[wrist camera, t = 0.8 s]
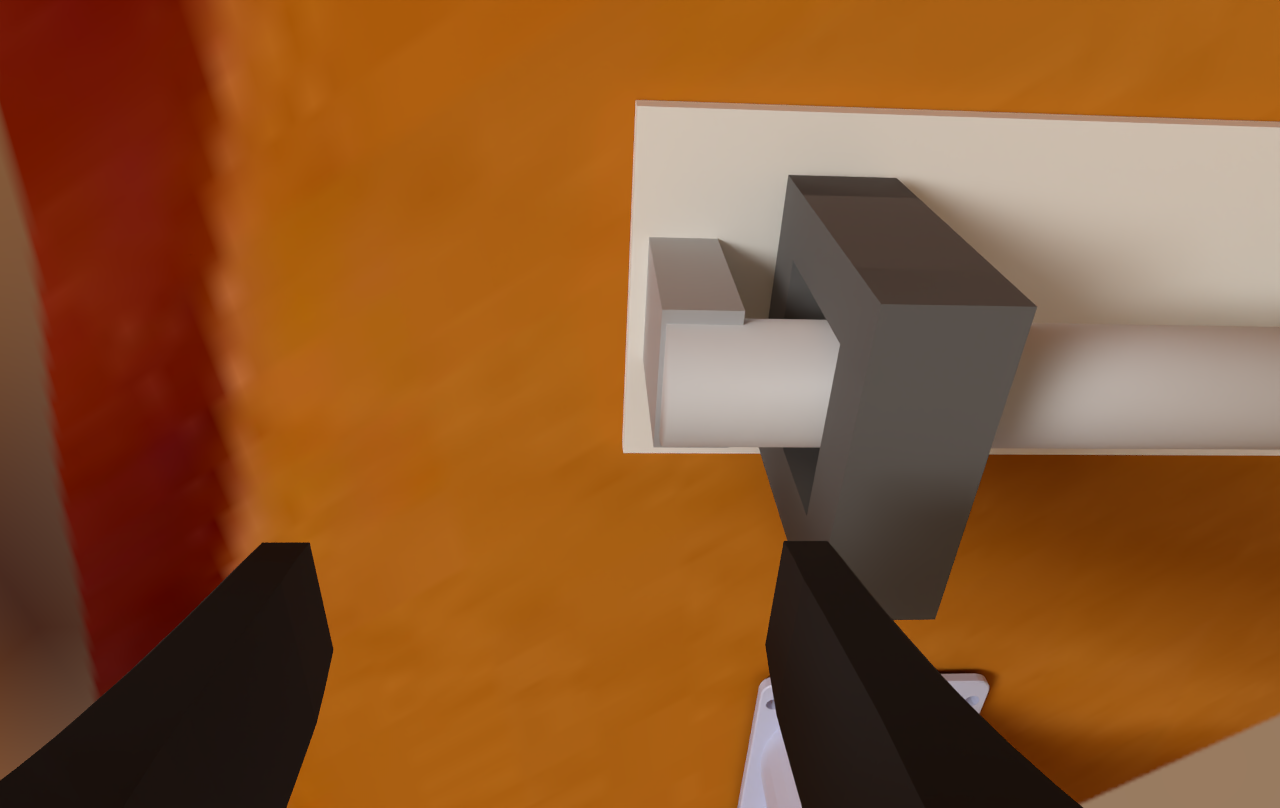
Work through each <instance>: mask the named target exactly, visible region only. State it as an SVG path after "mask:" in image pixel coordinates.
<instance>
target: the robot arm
mask: <svg viewBox="0 0 1280 808" xmlns="http://www.w3.org/2000/svg"><path fill="white" fill-rule="evenodd" d="M765 645H766V652H767V659H768V666H769V672H770V677H769V678H767V679H765V680H764V681H762V682H761V684H760V686H759V690H758V696H757V702H756V707H755V713H754V718H753V724H752V729H751V735H750V740H749V746H748V752H747V757H746V763H745V768H744V774H743V779H742V785H741V790H740V796H739V802H738V807H737V808H1083V807H1082V806H1080V805H1079V804H1078V803H1077V802H1076V801H1074V800H1073V799H1072V798H1071V797H1070V796H1068V795H1067V794H1066V793H1065V792H1064V791H1062V790H1061V789H1060V788H1059V787H1058V786H1056V785H1055V784H1054V783H1053V782H1052V781H1051V780H1050V779H1049V778H1047V777H1046V776H1045V775H1044V774H1043V773H1042V772H1041V771H1040V770H1038V769H1037V768H1036V767H1035V766H1034V765H1033V764H1032V763H1031V762H1029V761H1028V760H1027V759H1026V758H1025V757H1024V756H1023V755H1022V754H1021V753H1019V752H1018V751H1017V750H1016V749H1015V748H1014V747H1013V746H1012V745H1011V744H1009V743H1008V742H1007V741H1006V740H1005V739H1004V738H1003V737H1002V736H1001V735H1000V734H999V733H998V732H997V731H996V730H995V729H994V728H993V727H992V726H991V725H990V724H989V723H988V722H987V721H986V720H985V719H984V718H983V717H982V716H981V715H980V711H981V709H982V706H983V704H984V701H985V699H986V697H987V694H988V692H989V687H990V686H989V684H988V682H987V680H986V679H985V677H984V676H983V675H981V674H976V673H960V674H940V673H939V672H938V671H937V670H936V668H935V667H934V666H933V665H932V664H931V663H930V662H929V661H928V659H927V658H926V657H925V656H924V655H923V654H922V653H921V652H920V651H919V649H918V648H917V647H916V646H915V645H914V644H913V643H912V642H911V640H910V639H909V638H908V637H907V636H906V635H905V634H904V633H903V631H902V630H901V629H900V628H899V627H898V626H897V624H896V623H895V622H894V621H893V620H892V619H891V617H890V616H889V615H888V614H887V613H886V611H885V610H884V609H883V608H882V607H881V605H880V604H879V603H878V602H877V601H876V599H875V598H874V597H873V596H872V594H871V593H870V592H869V591H868V590H867V588H866V587H865V586H864V585H863V583H862V582H861V581H860V580H859V578H858V577H857V576H856V575H855V574H854V572H853V571H852V570H851V569H850V567H849V566H848V565H847V564H846V562H845V561H844V560H843V559H842V557H841V556H840V555H839V554H838V552H837V551H836V550H835V549H834V547H833V546H832V545H831V544H830V543H829V542H828V541H784V543H783V549H782V554H781V560H780V566H779V571H778V577H777V582H776V588H775V593H774V599H773V605H772V610H771V616H770V621H769V627H768V633H767V638H766V644H765ZM332 654H333V646H332V642H331V637H330V633H329V628H328V624H327V619H326V615H325V610H324V606H323V601H322V597H321V592H320V588H319V583H318V579H317V574H316V569H315V565H314V560H313V556H312V551H311V547H310V543H262V544H261V545H260V546H258V547H257V548H256V549H255V550H254V551H253V552H252V553H251V554H250V555H249V556H248V557H247V558H246V559H245V560H244V561H243V562H242V563H241V564H240V565H239V566H238V567H237V568H236V569H235V570H234V571H233V572H232V573H231V574H230V575H229V576H228V577H227V578H226V579H225V580H224V581H223V582H222V583H221V584H220V585H219V586H218V587H217V588H216V589H215V590H214V591H213V592H212V593H210V594H209V595H208V596H207V597H206V598H205V599H204V600H203V601H202V602H201V603H200V604H199V605H198V606H197V607H196V608H195V609H194V610H193V611H192V612H191V613H190V614H189V615H188V616H187V617H186V618H185V619H184V620H183V621H182V622H181V623H180V624H179V625H178V626H177V627H176V628H175V629H174V630H173V631H172V632H171V633H170V634H169V635H167V636H166V637H165V638H164V639H163V640H162V641H161V642H160V643H159V644H158V645H157V646H156V647H155V648H154V649H153V650H152V651H151V652H150V653H149V654H147V655H146V656H145V657H144V658H143V659H142V660H141V661H140V662H139V663H138V664H137V665H136V666H135V667H134V668H133V669H132V670H131V671H129V672H128V673H127V674H126V675H125V676H124V677H123V678H122V679H121V680H120V681H118V682H117V683H116V684H115V685H114V686H113V687H112V688H110V689H109V690H108V691H107V692H106V693H105V694H104V695H103V696H101V697H100V698H99V699H98V700H97V701H96V702H95V703H93V704H92V705H91V706H90V707H89V708H88V709H87V710H86V711H84V712H83V713H82V714H81V715H80V716H79V717H77V718H76V719H75V720H74V721H73V722H72V723H71V724H70V725H68V726H67V727H66V728H65V729H64V730H63V731H61V732H60V733H59V734H58V735H57V736H56V737H55V738H53V739H52V740H51V741H49V742H48V743H47V744H46V745H45V746H43V747H42V748H41V749H40V750H39V751H37V752H36V753H35V754H34V755H32V756H31V757H30V758H29V759H27V760H26V761H25V762H24V763H22V764H21V765H20V766H19V767H17V768H16V769H15V770H14V771H12V772H11V773H10V774H8V775H7V776H6V777H4V778H3V779H2V780H0V808H286V807H287V804H288V801H289V799H290V796H291V793H292V791H293V788H294V785H295V782H296V780H297V777H298V774H299V771H300V768H301V766H302V763H303V760H304V757H305V754H306V752H307V749H308V746H309V743H310V740H311V738H312V735H313V732H314V729H315V726H316V723H317V719H318V715H319V711H320V707H321V703H322V698H323V694H324V690H325V686H326V681H327V677H328V672H329V667H330V663H331V658H332Z"/></svg>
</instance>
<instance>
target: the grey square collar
mask: <svg viewBox="0 0 1280 808" xmlns="http://www.w3.org/2000/svg"><path fill="white" fill-rule="evenodd" d="M1036 310H1037V306H1036V305H1035V304H1034V303H1033V302H1032V301H1031V300H1029V299H1028V298H1027V297H1026V296H1025V295H1024V294H1023V293H1022V292H1021V291H1020V290H1019V289H1017V288H1016V287H1015V286H1014V285H1013V284H1012V283H1011V282H1010V281H1009V280H1008V279H1006V278H1005V277H1004V276H1003V275H1002V274H1001V273H1000V272H999V271H998V270H997V269H996V268H994V267H993V266H992V265H991V264H990V263H989V262H988V261H987V260H986V259H985V258H984V257H982V256H981V255H980V254H979V253H978V252H977V251H976V250H975V249H974V248H973V247H972V246H970V245H969V244H968V243H967V242H966V241H965V240H964V239H963V238H962V237H961V236H959V235H958V234H957V233H956V232H955V231H954V230H953V229H952V228H951V227H950V226H949V225H947V224H946V223H945V222H944V221H943V220H942V219H941V218H940V217H939V216H938V215H937V214H935V213H934V212H933V211H932V210H931V209H930V208H929V207H928V206H927V205H926V204H925V203H923V202H922V201H921V200H920V199H919V198H918V197H917V196H916V195H915V194H914V193H912V192H911V191H910V190H909V189H908V188H907V187H906V186H905V185H904V184H903V183H902V182H900V181H899V180H898V179H897V178H884V177H848V176H812V175H788V181H787V188H786V195H785V202H784V209H783V217H782V224H781V231H780V238H779V245H778V252H777V260H776V267H775V274H774V281H773V288H772V295H771V303H770V310H769V317H768V319H808V320H827V322H828V323H829V325H830V327H831V329H832V331H833V332H834V334H835V336H836V338H837V339H838V341H839V343H840V347H839V352H838V358H837V363H836V368H835V373H834V378H833V383H832V389H831V394H830V399H829V404H828V409H827V414H826V419H825V425H824V430H823V435H822V440H821V445H820V448H818V447H759V450H760V453H761V457H762V460H763V463H764V466H765V470H766V473H767V476H768V479H769V482H770V486H771V489H772V492H773V495H774V499H775V502H776V505H777V508H778V511H779V515H780V518H781V521H782V524H783V528H784V531H785V534H786V537H787V540H788V541H828V542H829V543H830V544H831V545H832V546H833V547H834V549H835V550H836V551H837V552H838V554H839V555H840V556H841V557H842V559H843V560H844V561H845V562H846V564H847V565H848V566H849V567H850V569H851V570H852V571H853V572H854V574H855V575H856V576H857V577H858V578H859V580H860V581H861V582H862V583H863V585H864V586H865V587H866V588H867V590H868V591H869V592H870V593H871V594H872V596H873V597H874V598H875V599H876V601H877V602H878V603H879V604H880V605H881V607H882V608H883V609H884V610H885V611H886V613H887V614H888V615H889V616H890V617H891V619H892V620H924V619H935V617H936V614H937V611H938V608H939V605H940V602H941V599H942V596H943V593H944V590H945V587H946V584H947V581H948V578H949V575H950V572H951V569H952V566H953V563H954V560H955V557H956V553H957V550H958V547H959V544H960V541H961V538H962V535H963V532H964V529H965V526H966V523H967V520H968V517H969V514H970V511H971V508H972V505H973V502H974V499H975V496H976V493H977V489H978V486H979V483H980V480H981V477H982V474H983V471H984V468H985V465H986V462H987V459H988V456H989V453H990V450H991V447H992V444H993V441H994V438H995V435H996V432H997V428H998V425H999V422H1000V419H1001V416H1002V413H1003V410H1004V407H1005V404H1006V401H1007V398H1008V395H1009V392H1010V389H1011V386H1012V383H1013V380H1014V377H1015V374H1016V371H1017V368H1018V364H1019V361H1020V358H1021V355H1022V352H1023V349H1024V346H1025V343H1026V340H1027V337H1028V334H1029V331H1030V328H1031V325H1032V322H1033V319H1034V316H1035V313H1036Z"/></svg>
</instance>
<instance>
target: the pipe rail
mask: <svg viewBox="0 0 1280 808" xmlns="http://www.w3.org/2000/svg"><path fill="white" fill-rule="evenodd" d="M788 175H812V176H848V177H884V178H897V179H898V180H899V181H900V182H902V183H903V184H904V185H905V186H906V187H907V188H908V189H909V190H910V191H911V192H912V193H914V194H915V195H916V196H917V197H918V198H919V199H920V200H921V201H922V202H923V203H925V204H926V205H927V206H928V207H929V208H930V209H931V210H932V211H933V212H934V213H935V214H937V215H938V216H939V217H940V218H941V219H942V220H943V221H944V222H945V223H946V224H947V225H949V226H950V227H951V228H952V229H953V230H954V231H955V232H956V233H957V234H958V235H959V236H961V237H962V238H963V239H964V240H965V241H966V242H967V243H968V244H969V245H970V246H972V247H973V248H974V249H975V250H976V251H977V252H978V253H979V254H980V255H981V256H982V257H984V258H985V259H986V260H987V261H988V262H989V263H990V264H991V265H992V266H993V267H994V268H996V269H997V270H998V271H999V272H1000V273H1001V274H1002V275H1003V276H1004V277H1005V278H1006V279H1008V280H1009V281H1010V282H1011V283H1012V284H1013V285H1014V286H1015V287H1016V288H1017V289H1019V290H1020V291H1021V292H1022V293H1023V294H1024V295H1025V296H1026V297H1027V298H1028V299H1029V300H1031V301H1032V302H1033V303H1034V304H1035V305H1036V306H1037V310H1036V313H1035V316H1034V319H1033V322H1032V325H1031V328H1030V331H1029V334H1028V337H1027V340H1026V343H1025V346H1024V349H1023V352H1022V355H1021V358H1020V361H1019V364H1018V368H1017V371H1016V374H1015V377H1014V380H1013V383H1012V386H1011V389H1010V392H1009V395H1008V398H1007V401H1006V404H1005V407H1004V410H1003V413H1002V416H1001V419H1000V422H999V425H998V428H997V432H996V435H995V438H994V441H993V444H992V447H991V450H990V453H989V454H1018V455H1265V456H1280V122H1269V121H1239V120H1210V119H1181V118H1151V117H1122V116H1092V115H1063V114H1034V113H1004V112H975V111H946V110H916V109H887V108H857V107H828V106H799V105H769V104H740V103H711V102H681V101H652V100H636V104H635V130H634V156H633V181H632V207H631V233H630V258H629V284H628V310H627V335H626V361H625V387H624V412H623V438H622V442H623V453H760V450H759V447H818V448H820V445H821V440H822V435H823V430H824V425H825V419H826V414H827V409H828V404H829V399H830V394H831V389H832V383H833V378H834V373H835V368H836V363H837V358H838V352H839V347H840V343H839V341H838V339H837V338H836V336H835V334H834V332H833V331H832V329H831V327H830V325H829V323H828V322H827V320H808V319H768V317H769V310H770V303H771V295H772V288H773V281H774V274H775V267H776V260H777V252H778V245H779V238H780V231H781V224H782V217H783V209H784V202H785V195H786V188H787V181H788Z"/></svg>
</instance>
